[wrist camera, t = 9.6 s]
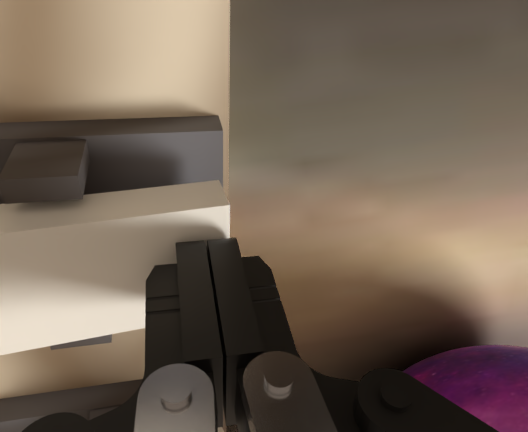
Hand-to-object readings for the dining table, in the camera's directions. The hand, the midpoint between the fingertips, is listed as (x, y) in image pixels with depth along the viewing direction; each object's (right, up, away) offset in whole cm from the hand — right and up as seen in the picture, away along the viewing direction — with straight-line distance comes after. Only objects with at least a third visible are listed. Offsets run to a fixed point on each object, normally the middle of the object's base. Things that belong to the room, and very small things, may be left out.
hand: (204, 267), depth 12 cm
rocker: (-4, 0, 0) cm, 4 cm away
